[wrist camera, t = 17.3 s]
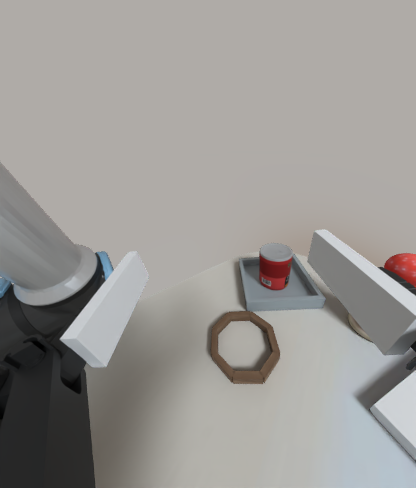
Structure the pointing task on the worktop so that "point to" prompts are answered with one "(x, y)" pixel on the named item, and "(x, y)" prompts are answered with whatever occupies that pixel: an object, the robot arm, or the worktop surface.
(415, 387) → the white platform stand
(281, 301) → the tray
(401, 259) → the stacking toy
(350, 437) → the worktop surface
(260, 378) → the holder ring
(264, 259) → the canned food
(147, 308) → the worktop surface
